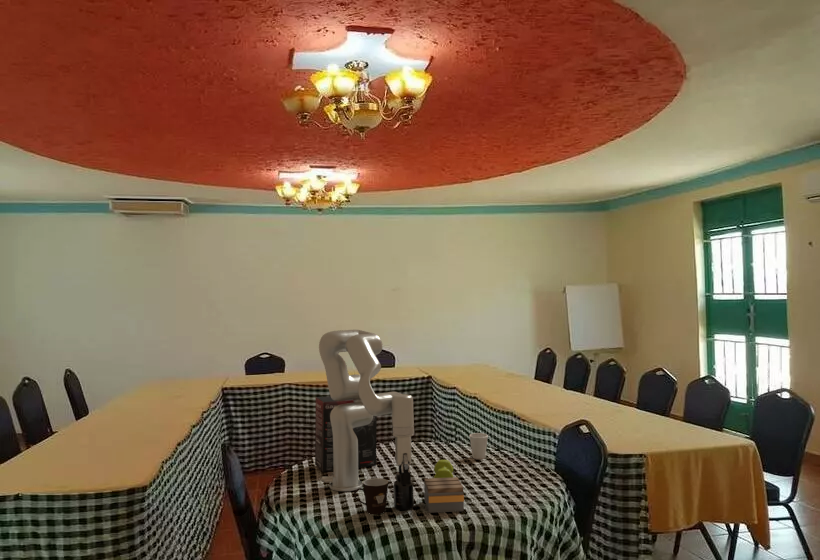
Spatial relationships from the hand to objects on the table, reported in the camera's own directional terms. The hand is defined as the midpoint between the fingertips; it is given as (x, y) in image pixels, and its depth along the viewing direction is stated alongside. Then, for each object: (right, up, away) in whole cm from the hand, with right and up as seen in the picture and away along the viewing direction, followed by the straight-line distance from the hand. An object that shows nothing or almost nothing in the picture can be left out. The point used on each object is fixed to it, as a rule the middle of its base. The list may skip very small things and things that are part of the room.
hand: (404, 480), depth 221 cm
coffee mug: (-11, -10, -3) cm, 15 cm away
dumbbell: (+15, -10, +28) cm, 33 cm away
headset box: (-26, -11, +53) cm, 60 cm away
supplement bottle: (0, -10, 0) cm, 10 cm away
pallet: (+13, -3, +2) cm, 14 cm away
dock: (+14, -10, +2) cm, 17 cm away
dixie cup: (+33, -10, +64) cm, 72 cm away
